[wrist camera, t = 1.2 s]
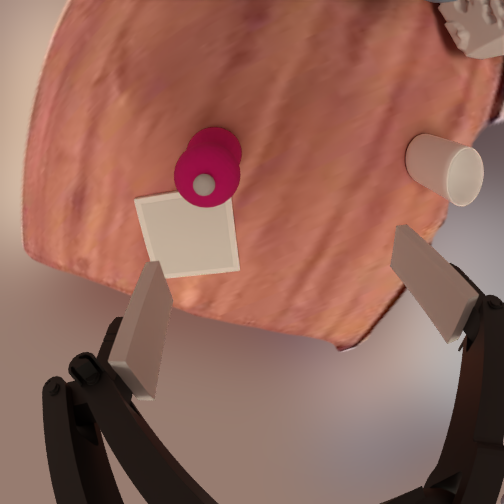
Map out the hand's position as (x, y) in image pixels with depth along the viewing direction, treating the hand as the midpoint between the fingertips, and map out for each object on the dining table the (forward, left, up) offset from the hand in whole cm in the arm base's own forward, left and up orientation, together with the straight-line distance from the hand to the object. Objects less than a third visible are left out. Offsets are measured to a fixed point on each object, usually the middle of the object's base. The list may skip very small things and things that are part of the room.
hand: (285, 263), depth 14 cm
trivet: (+11, -11, -28) cm, 32 cm away
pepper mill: (-2, -5, -29) cm, 29 cm away
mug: (+1, +32, -29) cm, 43 cm away
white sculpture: (-33, +44, -29) cm, 62 cm away
